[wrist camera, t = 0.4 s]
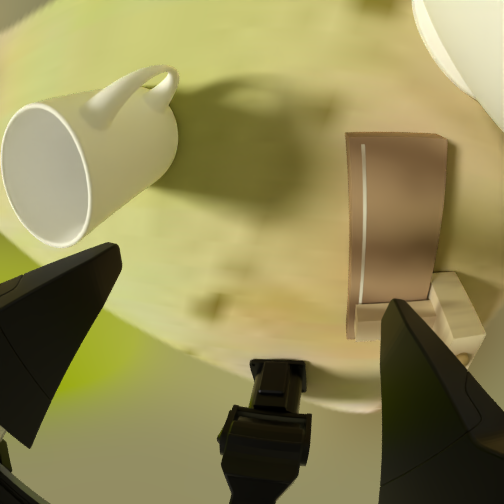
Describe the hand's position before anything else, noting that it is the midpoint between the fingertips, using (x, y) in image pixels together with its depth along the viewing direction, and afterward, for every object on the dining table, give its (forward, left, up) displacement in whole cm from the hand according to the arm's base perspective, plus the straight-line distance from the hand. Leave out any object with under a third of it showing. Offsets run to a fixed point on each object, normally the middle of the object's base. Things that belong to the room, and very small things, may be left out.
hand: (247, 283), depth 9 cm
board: (-7, -8, -14) cm, 17 cm away
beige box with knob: (-12, -10, -14) cm, 21 cm away
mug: (+5, +10, -14) cm, 18 cm away
